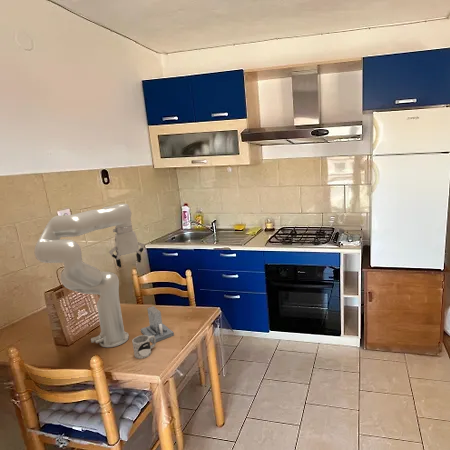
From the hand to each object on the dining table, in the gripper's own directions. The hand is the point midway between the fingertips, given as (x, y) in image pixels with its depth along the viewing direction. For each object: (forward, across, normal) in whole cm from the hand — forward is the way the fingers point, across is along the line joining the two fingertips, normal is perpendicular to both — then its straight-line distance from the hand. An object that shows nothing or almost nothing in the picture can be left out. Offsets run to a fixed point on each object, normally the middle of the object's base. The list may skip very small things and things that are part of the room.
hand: (129, 264), depth 176 cm
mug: (+29, -9, -34) cm, 45 cm away
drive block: (+27, +1, -22) cm, 35 cm away
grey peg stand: (+28, +1, -22) cm, 36 cm away
